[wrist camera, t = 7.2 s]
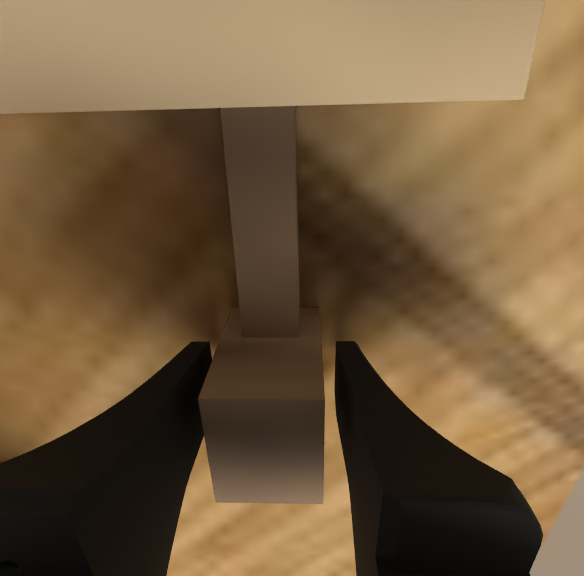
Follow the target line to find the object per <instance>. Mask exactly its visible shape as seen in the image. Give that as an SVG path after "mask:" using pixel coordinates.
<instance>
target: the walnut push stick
mask: <svg viewBox="0 0 584 576" xmlns="http://www.w3.org/2000/svg"><path fill="white" fill-rule="evenodd" d="M220 113H221V124H222V134H223V144H224V154H225V165H226V175H227V185H228V195H229V206H230V216H231V226H232V237H233V247H234V257H235V267H236V278H237V288H238V298H239V307H232V308H231V311H230V313H229V316H228V319H227V322H226V324H225V327H224V330H223V332H222V335H221V338H220V341H219V343H218V346H217V349H216V351H215V354H214V357H213V360H212V362H211V365H210V368H209V370H208V373H207V376H206V379H205V381H204V384H203V387H202V389H201V392H200V395H199V398H198V402H199V408H200V414H201V419H202V425H203V431H204V437H205V443H206V448H207V454H208V460H209V466H210V472H211V477H212V483H213V489H214V495H215V501H216V502H225V503H285V504H323V480H324V418H325V395H324V378H323V362H322V346H321V329H320V313H319V307H300V287H299V233H298V178H297V124H296V106H270V107H234V108H220Z"/></svg>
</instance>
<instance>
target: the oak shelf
mask: <svg viewBox="0 0 584 576" xmlns="http://www.w3.org/2000/svg"><path fill="white" fill-rule="evenodd" d="M544 4H545V0H0V114H17V113H53V112H89V111H125V110H162V109H198V108H234V107H270V106H307V105H343V104H379V103H415V102H452V101H488V100H524V96H525V92H526V87H527V82H528V78H529V73H530V69H531V64H532V59H533V55H534V50H535V45H536V41H537V36H538V32H539V27H540V22H541V18H542V13H543V8H544Z"/></svg>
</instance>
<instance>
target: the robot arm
mask: <svg viewBox="0 0 584 576" xmlns="http://www.w3.org/2000/svg"><path fill="white" fill-rule="evenodd" d="M211 362H212V356H211V349H210V342H191V343H190V344H188V345H187V346H186V347H185V348H184V349H183V350H182V351H181V352H179V353H178V354H177V355H176V356H175V357H174V358H173V359H172V360H171V361H170V362H168V363H167V364H166V365H165V366H164V367H163V368H162V369H160V370H159V371H158V372H157V373H156V374H155V375H153V376H152V377H151V378H150V379H148V380H147V381H146V382H145V383H143V384H142V385H141V386H140V387H138V388H137V389H136V390H135V391H133V392H132V393H131V394H129V395H128V396H127V397H125V398H124V399H123V400H121V401H120V402H118V403H117V404H115V405H114V406H112V407H111V408H109V409H108V410H106V411H105V412H103V413H101V414H100V415H98V416H97V417H95V418H93V419H91V420H90V421H88V422H86V423H84V424H83V425H81V426H79V427H77V428H76V429H74V430H72V431H70V432H69V433H67V434H65V435H63V436H61V437H59V438H57V439H55V440H53V441H51V442H49V443H47V444H45V445H42V446H40V447H38V448H36V449H34V450H32V451H29V452H27V453H25V454H23V455H20V456H18V457H15V458H13V459H11V460H8V461H6V462H3V463H1V464H0V576H166V574H167V569H168V564H169V560H170V555H171V550H172V545H173V541H174V536H175V532H176V528H177V523H178V519H179V514H180V510H181V506H182V502H183V498H184V494H185V490H186V486H187V483H188V480H189V476H190V473H191V471H192V468H193V465H194V462H195V459H196V456H197V453H198V451H199V448H200V445H201V442H202V439H203V436H204V431H203V425H202V419H201V414H200V408H199V402H198V398H199V395H200V392H201V389H202V387H203V384H204V381H205V379H206V376H207V373H208V370H209V368H210V365H211ZM335 404H336V417H337V422H338V428H339V433H340V439H341V444H342V450H343V455H344V460H345V466H346V471H347V477H348V484H349V491H350V502H351V513H352V524H353V536H354V548H355V561H356V574H357V576H530V574H529V572H530V569H531V567H532V565H533V562H534V560H535V558H536V555H537V553H538V551H539V548H540V546H541V542H542V537H543V533H542V529H541V526H540V523H539V522H538V520H537V518H536V516H535V514H534V513H533V511H532V509H531V507H530V506H529V504H528V502H527V501H526V499H525V498H524V496H523V495H522V493H521V492H520V490H519V489H518V488H517V486H516V485H515V483H514V482H513V480H512V479H511V478H509V477H508V476H506V475H504V474H502V473H501V472H499V471H497V470H495V469H493V468H492V467H490V466H488V465H486V464H484V463H483V462H481V461H479V460H477V459H476V458H474V457H472V456H471V455H469V454H468V453H466V452H465V451H463V450H462V449H460V448H459V447H457V446H455V445H454V444H453V443H451V442H450V441H448V440H447V439H445V438H444V437H443V436H441V435H440V434H439V433H437V432H436V431H435V430H434V429H432V428H431V427H430V426H428V425H427V424H426V423H425V422H423V421H422V420H421V419H420V418H419V417H418V416H416V415H415V414H414V413H413V412H412V411H411V410H410V409H409V408H408V407H407V406H406V405H405V404H404V403H403V402H402V401H401V400H400V399H399V398H398V397H397V396H396V395H395V394H394V393H393V392H392V390H391V389H390V388H389V387H388V386H387V385H386V384H385V382H384V381H383V380H382V379H381V377H380V376H379V375H378V374H377V372H376V371H375V370H374V368H373V367H372V366H371V364H370V363H369V362H368V360H367V359H366V357H365V356H364V354H363V353H362V351H361V350H360V348H359V346H358V345H357V344H356V343H355V342H354V341H336V358H335Z"/></svg>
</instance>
